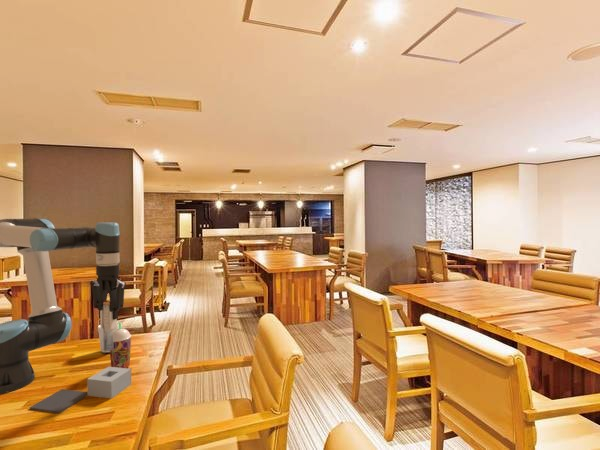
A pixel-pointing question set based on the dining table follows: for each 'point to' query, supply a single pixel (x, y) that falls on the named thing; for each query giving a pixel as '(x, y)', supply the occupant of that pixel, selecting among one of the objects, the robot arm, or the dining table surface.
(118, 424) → the dining table surface
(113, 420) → the dining table surface
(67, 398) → the mat
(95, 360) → the dining table surface
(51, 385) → the dining table surface
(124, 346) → the smoothie
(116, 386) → the eye block
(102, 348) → the cup
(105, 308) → the peg
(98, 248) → the robot arm
